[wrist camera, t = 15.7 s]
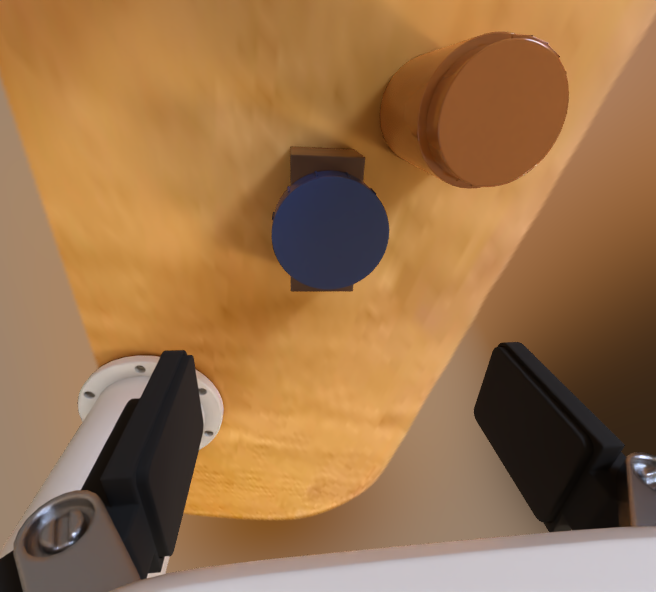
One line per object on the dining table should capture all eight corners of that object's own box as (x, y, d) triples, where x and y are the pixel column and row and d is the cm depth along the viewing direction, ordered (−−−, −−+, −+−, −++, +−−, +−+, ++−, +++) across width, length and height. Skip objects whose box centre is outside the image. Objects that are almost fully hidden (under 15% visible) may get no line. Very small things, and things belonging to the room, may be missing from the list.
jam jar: (463, 165, 26) (547, 197, 17) (374, 162, 25) (417, 193, 17) (488, 56, 23) (604, 31, 14) (386, 48, 22) (446, 18, 14)
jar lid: (271, 168, 21) (269, 174, 19) (388, 172, 22) (397, 178, 20) (274, 276, 24) (273, 290, 23) (375, 276, 25) (381, 289, 23)
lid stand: (345, 268, 29) (352, 291, 25) (290, 267, 28) (290, 291, 25) (354, 149, 24) (365, 157, 21) (290, 146, 24) (290, 154, 21)
